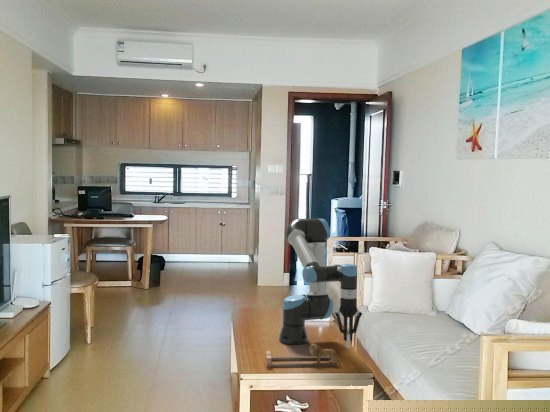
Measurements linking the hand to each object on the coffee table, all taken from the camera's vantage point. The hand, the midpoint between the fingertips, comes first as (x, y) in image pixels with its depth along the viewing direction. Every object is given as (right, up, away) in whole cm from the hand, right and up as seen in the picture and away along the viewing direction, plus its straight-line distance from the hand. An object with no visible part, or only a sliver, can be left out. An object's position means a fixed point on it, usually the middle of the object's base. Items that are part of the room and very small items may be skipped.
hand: (347, 347), depth 250 cm
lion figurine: (-11, -8, 0) cm, 14 cm away
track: (-21, -7, 0) cm, 22 cm away
